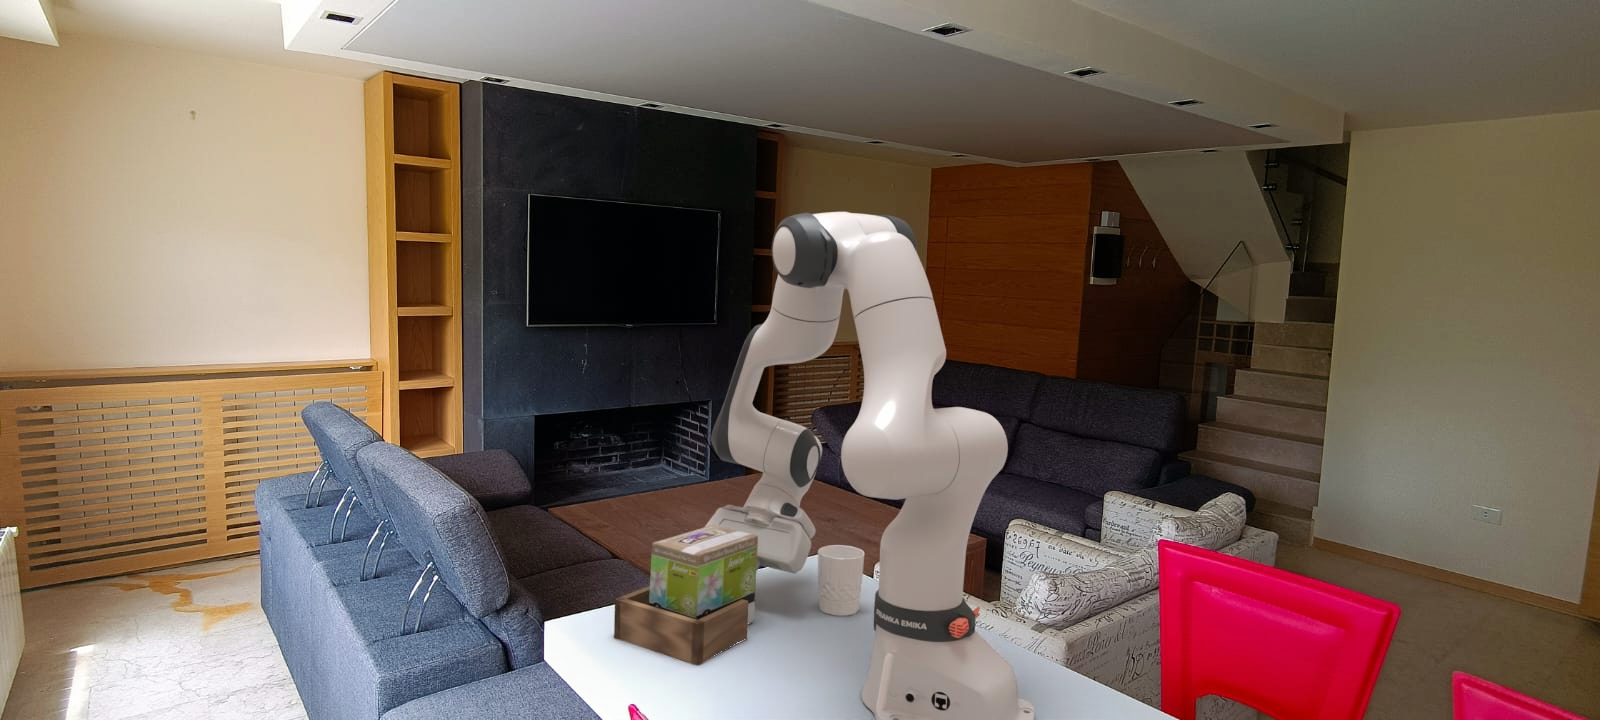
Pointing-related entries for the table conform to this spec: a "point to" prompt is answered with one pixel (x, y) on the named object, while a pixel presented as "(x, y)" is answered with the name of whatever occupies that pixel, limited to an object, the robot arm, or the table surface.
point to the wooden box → (678, 628)
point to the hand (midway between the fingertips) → (733, 582)
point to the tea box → (704, 571)
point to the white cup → (840, 579)
